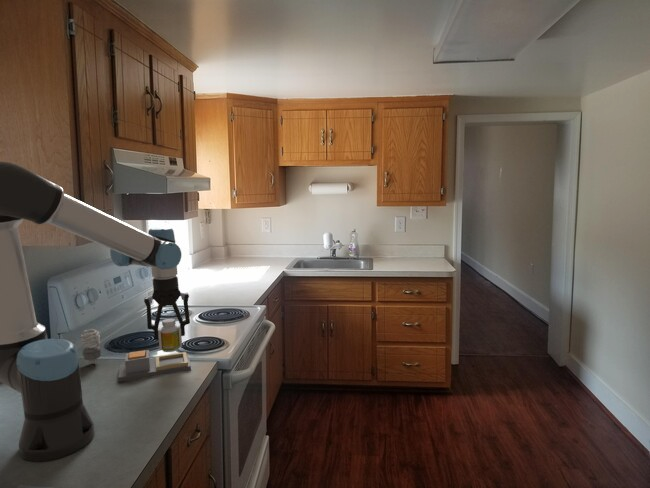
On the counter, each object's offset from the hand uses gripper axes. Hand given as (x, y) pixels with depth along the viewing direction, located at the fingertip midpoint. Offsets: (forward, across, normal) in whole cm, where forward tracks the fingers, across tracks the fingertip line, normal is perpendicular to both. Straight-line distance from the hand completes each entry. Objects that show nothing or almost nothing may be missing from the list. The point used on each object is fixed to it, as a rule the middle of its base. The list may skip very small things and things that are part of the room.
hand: (170, 347), depth 146 cm
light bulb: (+7, +24, -13) cm, 28 cm away
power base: (+7, +5, 0) cm, 8 cm away
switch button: (+4, +10, 0) cm, 11 cm away
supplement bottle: (+1, 0, 0) cm, 1 cm away
